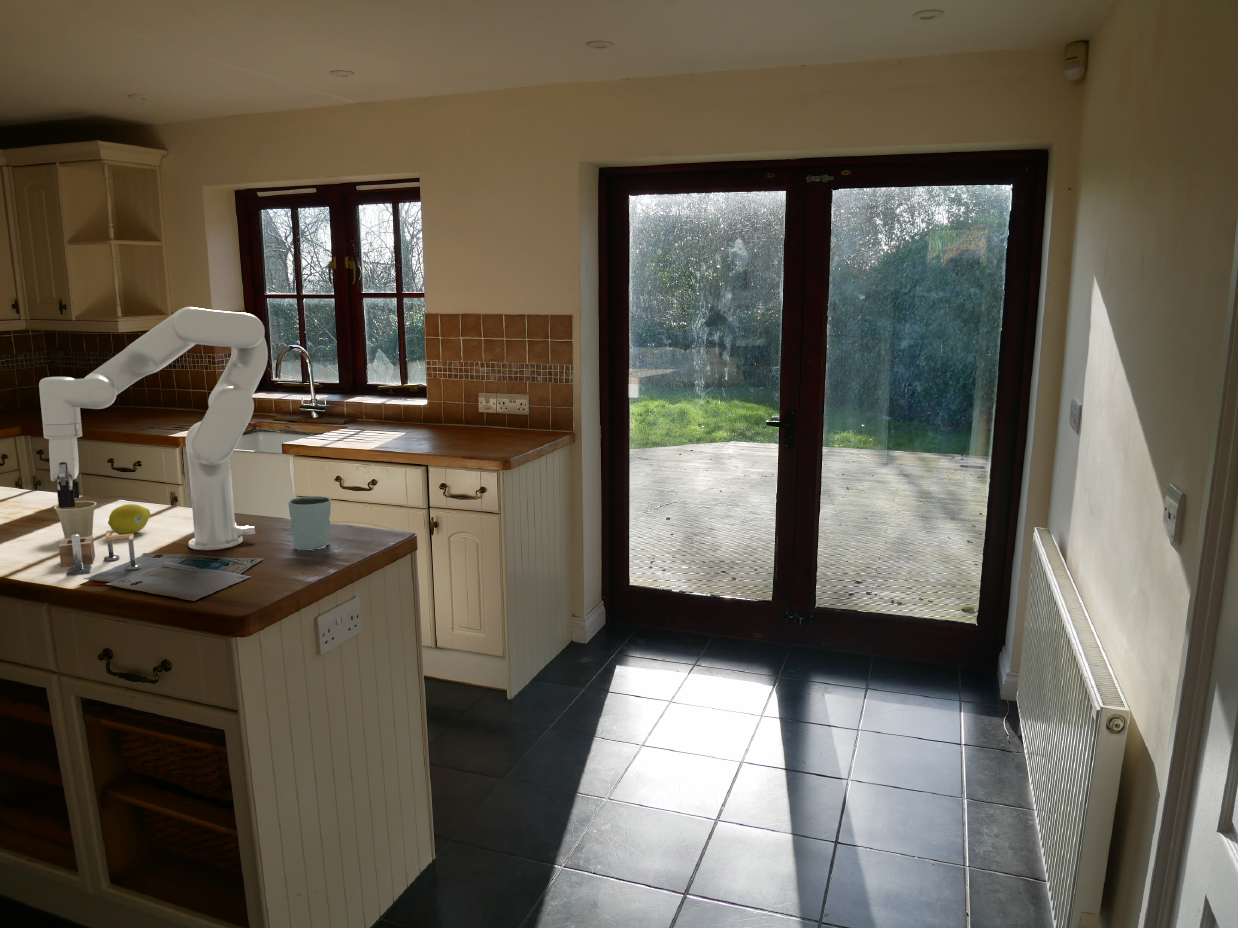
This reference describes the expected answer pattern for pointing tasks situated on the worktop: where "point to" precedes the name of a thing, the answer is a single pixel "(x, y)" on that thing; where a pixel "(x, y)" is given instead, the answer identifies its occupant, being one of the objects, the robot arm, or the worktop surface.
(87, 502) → the flower pot
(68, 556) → the open wooden box
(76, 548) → the peg stand
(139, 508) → the lemon
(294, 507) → the light blue cup
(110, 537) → the buzz wire
